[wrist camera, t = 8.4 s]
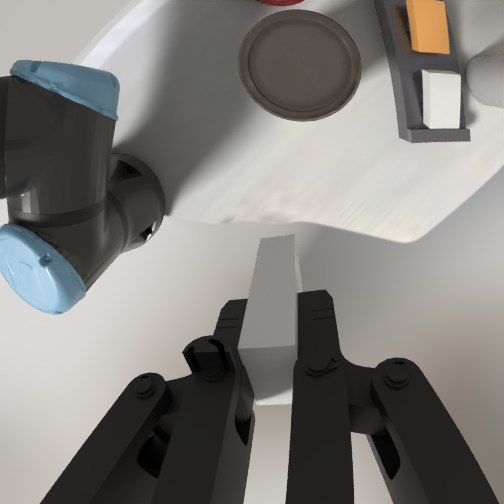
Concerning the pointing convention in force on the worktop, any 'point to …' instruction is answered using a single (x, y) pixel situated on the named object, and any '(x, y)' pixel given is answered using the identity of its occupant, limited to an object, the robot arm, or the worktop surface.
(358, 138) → the worktop surface
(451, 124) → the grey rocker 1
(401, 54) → the dark grey tray
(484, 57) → the can
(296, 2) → the canned food
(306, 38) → the coffee can
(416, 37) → the orange rectangular block
